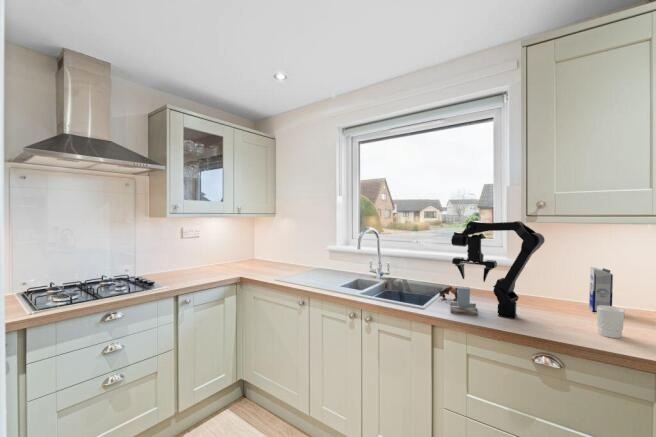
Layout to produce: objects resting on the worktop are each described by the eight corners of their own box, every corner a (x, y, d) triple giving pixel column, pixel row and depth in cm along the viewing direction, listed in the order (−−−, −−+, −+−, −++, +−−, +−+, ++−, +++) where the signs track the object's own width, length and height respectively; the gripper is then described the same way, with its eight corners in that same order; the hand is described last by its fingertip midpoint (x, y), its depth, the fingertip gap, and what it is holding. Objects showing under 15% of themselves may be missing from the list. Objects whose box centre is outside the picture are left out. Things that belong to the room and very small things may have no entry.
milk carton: (589, 308, 153) (590, 266, 153) (607, 310, 150) (608, 267, 149) (592, 312, 147) (594, 268, 146) (611, 315, 144) (613, 270, 143)
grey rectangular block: (468, 308, 150) (469, 287, 149) (469, 310, 146) (469, 288, 146) (457, 307, 151) (457, 286, 151) (457, 309, 148) (457, 288, 148)
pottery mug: (452, 305, 159) (443, 289, 162) (441, 308, 168) (433, 293, 170) (469, 296, 164) (461, 281, 167) (457, 300, 173) (449, 285, 175)
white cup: (620, 340, 116) (621, 313, 116) (592, 333, 123) (593, 307, 122) (626, 335, 121) (627, 309, 120) (599, 329, 127) (600, 304, 127)
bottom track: (475, 309, 151) (475, 303, 151) (477, 315, 143) (477, 308, 143) (450, 307, 155) (450, 301, 155) (450, 312, 147) (450, 306, 147)
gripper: (499, 247, 154) (499, 280, 155) (459, 244, 166) (458, 274, 166) (494, 250, 145) (493, 284, 146) (452, 246, 157) (451, 278, 158)
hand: (473, 280), depth 154 cm, fingers open, 9 cm apart
